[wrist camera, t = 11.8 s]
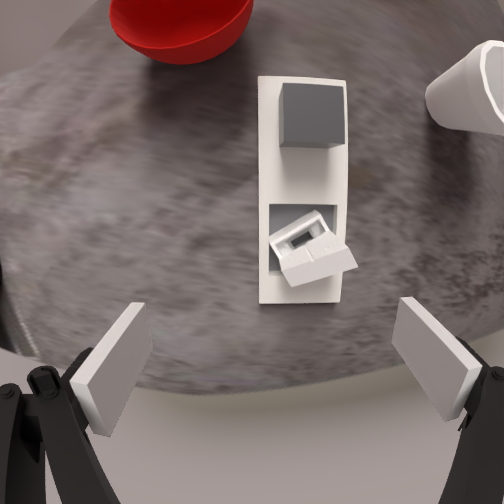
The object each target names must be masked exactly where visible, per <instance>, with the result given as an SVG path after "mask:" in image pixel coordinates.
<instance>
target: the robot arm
mask: <svg viewBox="0 0 504 504" xmlns="http://www.w3.org/2000/svg"><path fill="white" fill-rule="evenodd" d="M0 285H1V268H0ZM391 343H392V344H393V346H394V347H395V348H396V350H397V351H398V353H399V354H400V356H401V357H402V358H403V360H404V361H405V363H406V364H407V366H408V367H409V368H410V370H411V372H412V373H413V374H414V376H415V377H416V379H417V380H418V382H419V383H420V385H421V386H422V388H423V389H424V391H425V392H426V394H427V396H428V397H429V398H430V400H431V402H432V403H433V405H434V406H435V408H436V409H437V411H438V413H439V414H440V416H441V417H442V419H443V421H444V422H447V421H450V420H453V419H456V418H458V417H459V415H460V413H461V411H462V409H463V407H464V408H465V409H466V411H467V414H466V416H465V418H464V420H463V422H462V424H461V425H460V427H459V429H458V431H460V430H461V428H462V431H461V435H460V439H459V443H458V447H457V450H456V454H455V457H454V461H453V464H452V467H451V470H450V473H449V476H448V479H447V482H446V485H445V488H444V490H443V493H442V496H441V498H440V501H439V503H438V504H502V501H503V496H504V368H502V367H497V366H494V367H490V366H489V365H488V364H487V363H486V362H485V361H484V360H483V359H482V358H481V357H480V356H479V355H478V354H477V353H475V351H474V350H473V349H472V348H470V346H469V345H468V344H467V343H466V342H465V341H463V340H462V339H460V338H458V337H454V336H453V335H452V334H451V333H450V332H449V331H448V330H447V329H446V328H445V327H444V326H443V325H441V324H440V323H439V322H438V321H437V320H436V319H435V318H434V317H433V316H432V315H431V314H430V313H429V312H428V311H427V310H426V309H425V308H424V307H423V306H421V305H420V304H419V303H418V302H417V301H416V300H415V299H414V298H413V297H402V298H400V301H399V306H398V312H397V317H396V322H395V327H394V331H393V336H392V341H391ZM152 350H153V344H152V339H151V334H150V328H149V323H148V317H147V311H146V305H145V303H133V302H132V303H131V304H130V305H129V306H128V307H127V309H126V310H125V311H124V312H123V313H122V315H121V316H120V317H119V318H118V320H117V321H116V322H115V323H114V324H113V326H112V327H111V328H110V329H109V331H108V332H107V333H106V334H105V336H104V337H103V338H102V339H101V341H100V342H99V343H98V345H97V346H96V347H95V348H90V347H89V348H88V349H86V350H84V351H83V352H81V353H80V354H79V356H78V357H77V358H76V359H75V361H74V362H73V363H72V364H71V367H69V368H68V369H67V370H66V372H65V373H64V374H63V376H62V377H61V378H60V376H59V374H58V371H57V370H56V368H54V367H52V366H47V365H46V366H40V367H37V368H35V369H33V370H32V371H31V372H30V373H29V374H28V376H27V382H28V384H29V386H30V388H31V390H32V392H33V394H22V392H21V390H20V388H19V386H18V385H16V384H13V383H9V384H5V385H2V386H1V387H0V504H46V492H45V450H46V454H47V458H48V461H49V465H50V468H51V472H52V475H53V478H54V481H55V485H56V488H57V490H58V493H59V496H60V499H61V502H62V504H121V503H120V502H119V500H118V498H117V496H116V495H115V493H114V491H113V489H112V487H111V486H110V483H109V481H108V479H107V478H106V475H105V473H104V472H103V469H102V467H101V465H100V463H99V461H98V459H97V456H96V454H95V452H94V450H93V447H92V445H91V443H90V440H89V438H88V435H87V433H86V432H85V429H86V428H87V426H88V424H89V426H90V427H91V429H92V431H93V433H94V434H99V435H103V436H107V437H110V436H111V434H112V432H113V430H114V428H115V426H116V423H117V421H118V419H119V417H120V415H121V413H122V411H123V409H124V407H125V405H126V402H127V400H128V398H129V396H130V394H131V392H132V390H133V388H134V386H135V384H136V382H137V380H138V378H139V376H140V374H141V372H142V370H143V368H144V366H145V364H146V362H147V360H148V358H149V356H150V354H151V352H152Z"/></svg>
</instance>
